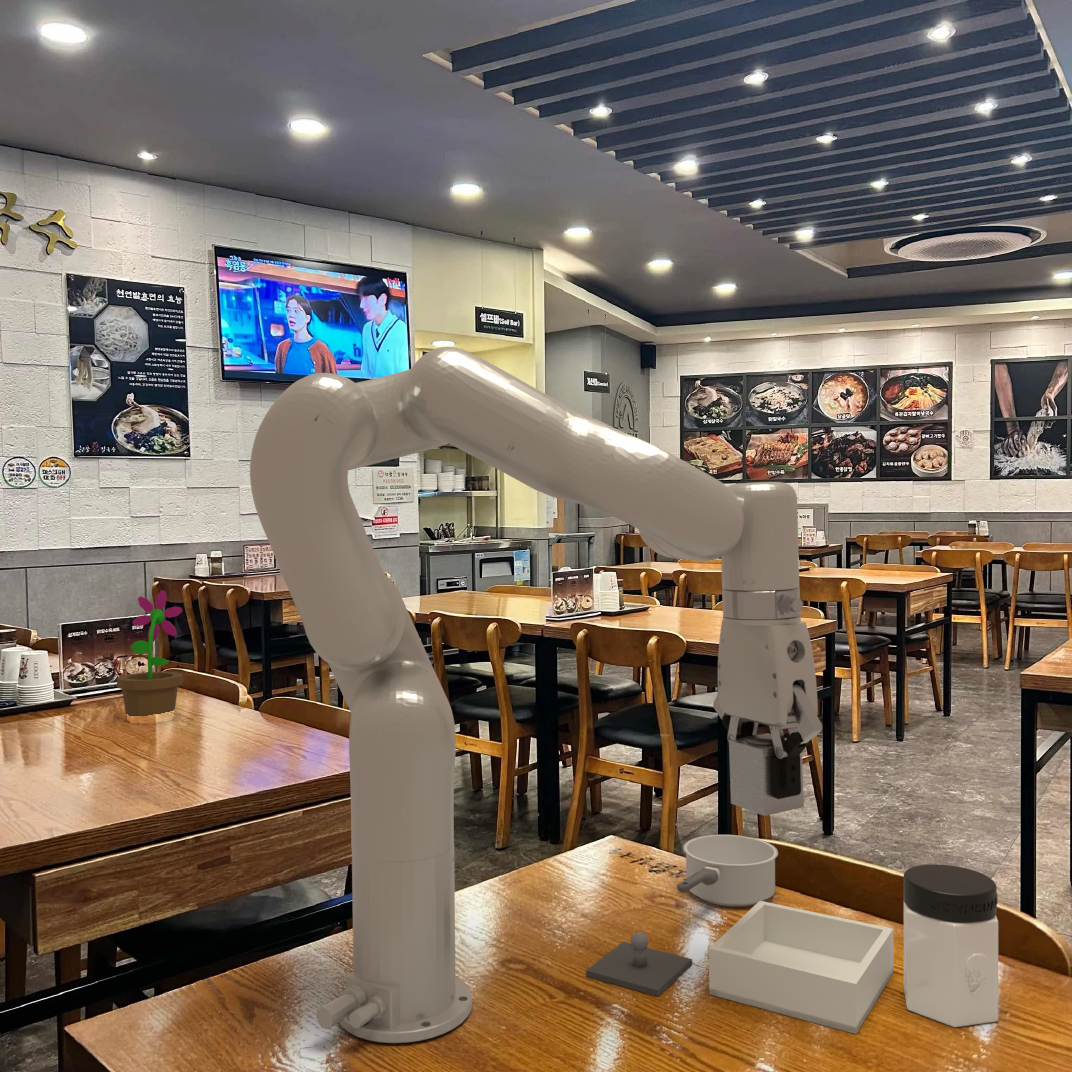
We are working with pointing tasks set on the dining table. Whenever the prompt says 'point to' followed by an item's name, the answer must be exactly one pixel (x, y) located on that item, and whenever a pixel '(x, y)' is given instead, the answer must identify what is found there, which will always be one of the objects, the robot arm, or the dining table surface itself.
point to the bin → (803, 965)
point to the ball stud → (639, 966)
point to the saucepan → (729, 869)
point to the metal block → (757, 776)
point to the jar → (951, 944)
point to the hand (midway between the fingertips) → (766, 787)
